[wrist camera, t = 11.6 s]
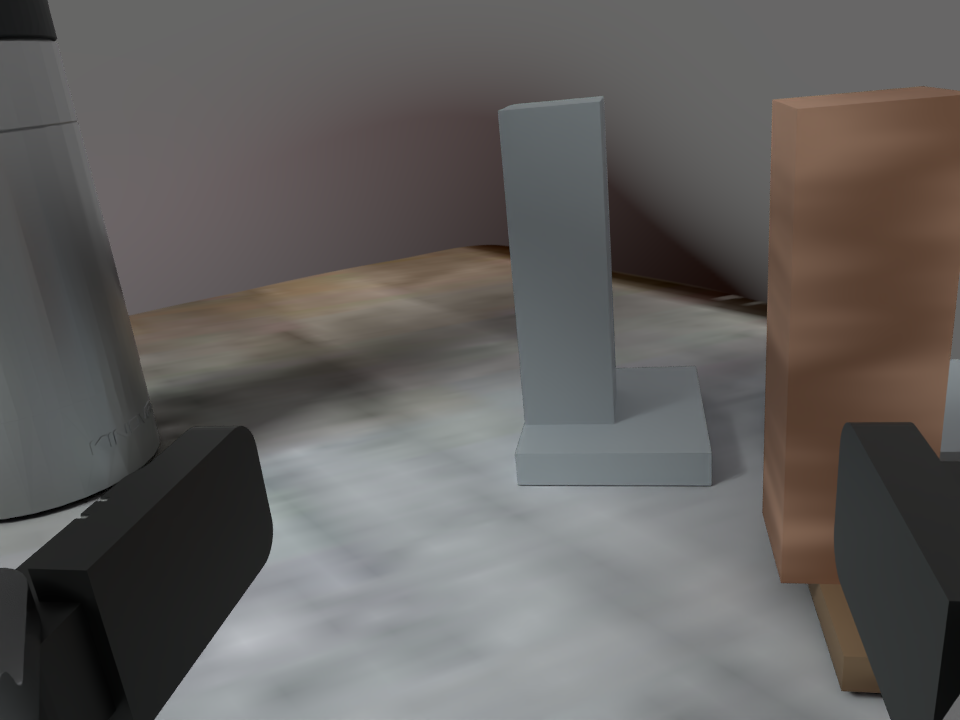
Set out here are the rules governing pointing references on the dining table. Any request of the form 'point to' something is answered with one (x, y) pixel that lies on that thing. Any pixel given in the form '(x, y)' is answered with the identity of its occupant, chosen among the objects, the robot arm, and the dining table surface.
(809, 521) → the wooden bookend
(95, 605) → the robot arm
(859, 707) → the dining table surface
